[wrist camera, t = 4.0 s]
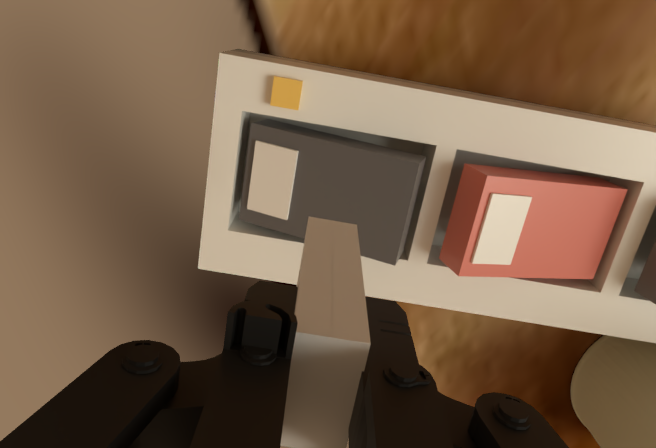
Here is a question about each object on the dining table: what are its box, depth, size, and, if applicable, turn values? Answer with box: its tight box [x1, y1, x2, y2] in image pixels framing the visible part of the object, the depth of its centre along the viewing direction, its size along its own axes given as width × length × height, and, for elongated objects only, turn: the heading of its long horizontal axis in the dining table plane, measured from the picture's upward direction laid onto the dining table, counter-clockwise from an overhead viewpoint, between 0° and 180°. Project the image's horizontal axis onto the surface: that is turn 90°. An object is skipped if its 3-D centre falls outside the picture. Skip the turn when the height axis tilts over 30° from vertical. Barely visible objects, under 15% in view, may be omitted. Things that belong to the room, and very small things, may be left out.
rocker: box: [239, 119, 426, 266], centre depth 24 cm, size 8×5×2 cm, turn 80°
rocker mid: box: [439, 163, 628, 279], centre depth 24 cm, size 8×5×2 cm, turn 80°
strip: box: [198, 49, 656, 343], centre depth 27 cm, size 38×10×5 cm, turn 80°
